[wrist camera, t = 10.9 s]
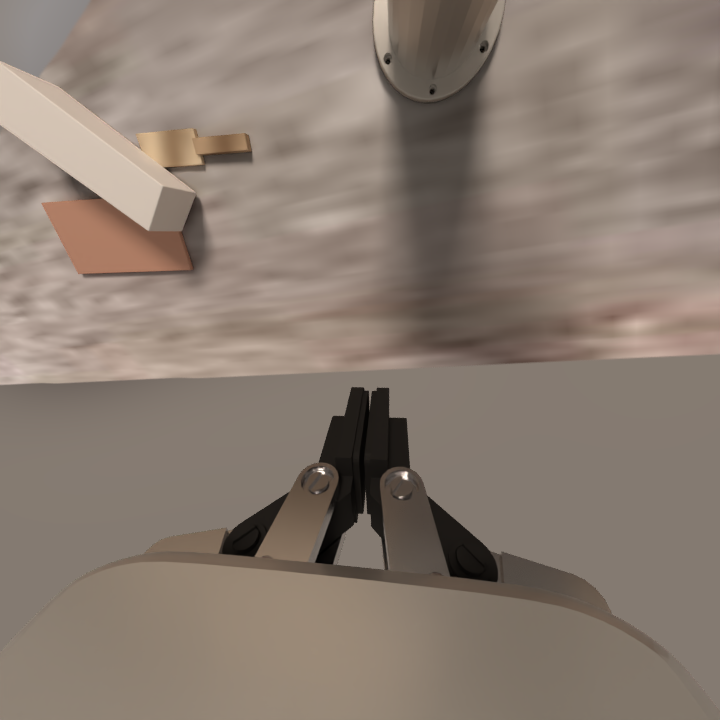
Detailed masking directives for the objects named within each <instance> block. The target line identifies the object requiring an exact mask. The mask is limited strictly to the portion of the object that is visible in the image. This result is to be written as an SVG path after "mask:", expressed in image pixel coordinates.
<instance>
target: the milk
mask: <svg viewBox="0 0 720 720" xmlns="http://www.w3.org/2000/svg"><path fill="white" fill-rule="evenodd" d="M0 125H1V126H2V127H4V128H5V129H6V130H8V131H9V132H11V133H12V134H13V135H15V136H16V137H18V138H19V139H20V140H22V141H23V142H25V143H26V144H27V145H29V146H30V147H32V148H33V149H34V150H36V151H37V152H39V153H40V154H41V155H43V156H44V157H46V158H47V159H48V160H50V161H51V162H53V163H54V164H55V165H57V166H58V167H59V168H61V169H62V170H64V171H65V172H66V173H68V174H69V175H71V176H72V177H73V178H75V179H76V180H78V181H79V182H80V183H82V184H83V185H85V186H86V187H87V188H89V189H90V190H92V191H93V192H94V193H96V194H97V195H99V196H100V197H101V198H103V199H104V200H106V201H107V202H108V203H110V204H111V205H113V206H114V207H115V208H117V209H118V210H120V211H121V212H122V213H124V214H125V215H127V216H128V217H129V218H131V219H132V220H133V221H135V222H136V223H138V224H139V225H140V226H142V227H143V228H145V229H146V230H148V231H182V230H183V227H184V225H185V222H186V219H187V217H188V214H189V211H190V209H191V206H192V203H193V201H194V198H195V196H196V192H195V191H193V190H192V189H191V188H189V187H188V186H187V185H186V184H184V183H183V182H182V181H180V180H179V179H178V178H176V177H175V176H174V175H173V174H171V173H170V172H169V171H167V170H166V169H165V168H163V167H162V166H161V165H160V164H158V163H157V162H156V161H154V160H153V159H152V158H150V157H149V156H148V155H147V154H145V153H144V152H143V151H141V150H140V149H139V148H138V147H136V146H135V145H134V144H132V143H131V142H130V141H128V140H127V139H126V138H125V137H123V136H122V135H121V134H119V133H118V132H117V131H115V130H114V129H113V128H112V127H110V126H109V125H108V124H106V123H105V122H104V121H102V120H101V119H100V118H99V117H97V116H96V115H95V114H93V113H92V112H91V111H89V110H88V109H87V108H86V107H84V106H83V105H82V104H80V103H79V102H78V101H76V100H75V99H74V98H73V97H71V96H70V95H69V94H67V93H66V92H65V91H63V90H62V89H61V88H60V87H58V86H56V85H54V84H51V83H49V82H47V81H44V80H42V79H40V78H38V77H35V76H33V75H31V74H28V73H26V72H24V71H22V70H19V69H17V68H15V67H12V66H10V65H8V64H6V63H3V62H1V61H0Z"/></svg>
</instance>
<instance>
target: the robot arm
mask: <svg viewBox="0 0 720 720" xmlns="http://www.w3.org/2000/svg"><path fill="white" fill-rule="evenodd" d="M505 3H506V0H374V3H373V20H372V24H373V37H374V43H375V50H376V54H377V57H378V60H379V64H380V66H381V68H382V70H383V72H384V74H385V76H386V78H387V80H388V81H389V82H390V84H391V85H392V86H393V87H394V88H395V89H396V90H397V91H398V92H399V93H400V94H402V95H403V96H405V97H407V98H409V99H411V100H413V101H418V102H422V103H427V102H436V101H440V100H443V99H446V98H448V97H450V96H452V95H454V94H455V93H457V92H458V91H459V90H461V89H462V88H463V87H464V86H466V85H467V84H468V83H469V82H470V81H471V79H472V78H473V77H474V76H475V75H476V74H477V73H478V71H479V70H480V68H481V67H482V65H483V64H484V62H485V60H486V59H487V57H488V55H489V54H490V52H491V50H492V48H493V45H494V43H495V40H496V38H497V35H498V33H499V30H500V26H501V23H502V19H503V15H504V10H505ZM481 48H483V49H484V53H481V52H480V49H481ZM387 60H390V64H388V65H387V64H386V61H387ZM430 90H433V91H434V94H433V95H431V94H430ZM365 492H366V498H367V499H366V500H367V514H371V526H372V528H373V529H374V530H375V531H376V532H377V534H378V535H379V536H380V537H381V546H382V556H383V566H384V570H381V569H371V568H360V567H351V566H341V565H337V564H338V560H339V557H340V553H341V550H342V546H343V543H344V540H345V534H346V531H347V530H348V529H349V528H351V527H352V526H353V525H354V522H355V523H357V519H358V513H360V514H363V511H364V502H365V501H364V500H365ZM0 720H720V710H719V709H718V708H717V707H716V705H715V704H714V703H713V701H712V700H711V699H710V697H709V696H708V695H707V693H706V692H705V691H704V690H703V689H702V687H701V686H700V685H699V684H698V683H697V681H696V680H695V679H694V678H693V677H692V675H691V674H690V673H689V672H688V671H687V670H686V669H685V667H684V666H683V665H682V664H681V663H680V662H679V661H678V660H676V658H675V657H674V656H673V655H672V654H671V653H669V652H668V651H667V650H666V649H665V648H664V647H663V646H661V645H660V644H659V643H657V642H656V641H654V640H653V639H652V638H651V637H649V636H648V635H646V634H645V633H643V632H642V631H640V630H639V629H637V628H635V627H634V626H632V625H631V624H629V623H627V622H626V621H624V620H622V619H620V618H618V617H616V616H614V615H613V614H612V613H611V610H610V609H609V607H608V605H607V603H606V601H605V599H604V598H603V597H602V595H601V594H600V593H599V592H598V591H597V590H596V588H594V587H593V586H592V585H591V584H589V583H588V582H587V581H586V580H584V579H582V578H580V577H578V576H576V575H573V574H571V573H567V572H564V571H561V570H558V569H555V568H552V567H548V566H545V565H542V564H539V563H536V562H533V561H530V560H527V559H523V558H520V557H517V556H514V555H510V554H508V553H504V552H501V555H500V554H497V553H494V552H490V551H489V550H488V549H487V547H486V546H485V545H484V544H483V543H482V542H480V541H479V540H478V539H477V538H476V537H475V536H473V535H472V534H471V533H470V532H469V531H468V530H467V529H465V528H464V527H463V526H462V525H461V524H460V523H458V522H457V521H456V520H455V519H454V518H453V517H451V516H450V515H449V514H448V513H447V512H446V511H444V510H443V509H442V508H441V507H440V506H439V505H438V504H436V503H435V502H434V501H433V500H432V499H431V498H430V497H428V496H427V494H426V490H425V487H424V484H423V481H422V479H421V477H420V476H419V475H418V474H417V473H416V472H415V471H413V470H411V469H410V462H409V448H408V433H407V419H406V418H389V388H377V391H372V396H371V404H370V411H369V391H364V388H361V387H359V388H357V387H352V388H351V392H350V396H349V400H348V405H347V408H346V413H345V416H333V417H332V420H331V423H330V427H329V430H328V433H327V437H326V440H325V443H324V447H323V450H322V453H321V457H320V460H319V463H314V464H311V465H309V466H307V467H306V468H305V469H303V470H302V471H301V473H300V474H299V476H298V477H297V479H296V481H295V483H294V485H293V487H292V488H291V490H290V492H289V493H287V494H285V495H284V496H282V497H281V498H279V499H278V500H276V501H274V502H273V503H271V504H270V505H268V506H267V507H265V508H264V509H262V510H260V511H259V512H257V513H256V514H254V515H253V516H251V517H250V518H248V519H246V520H245V521H243V522H242V523H240V524H239V525H238V526H237V527H235V528H234V529H233V530H227V528H221V529H215V530H208V531H202V532H197V533H190V534H183V535H177V536H171V537H167V538H164V539H161V540H160V541H158V542H157V543H155V544H154V545H152V546H151V547H150V548H149V549H148V550H147V551H146V552H145V553H144V554H140V555H135V556H132V557H128V558H124V559H121V560H117V561H115V562H111V563H108V564H106V565H103V566H101V567H98V568H96V569H94V570H92V571H90V572H88V573H86V574H84V575H83V576H81V577H79V578H78V579H76V580H74V581H73V582H72V583H70V584H69V585H68V586H67V587H65V588H64V589H63V590H61V592H59V593H58V594H57V595H56V596H55V597H54V598H52V599H51V600H50V601H49V602H48V603H47V604H46V605H45V606H44V607H43V608H42V609H41V610H40V611H39V612H38V613H37V614H36V615H35V616H34V617H33V618H32V619H31V620H30V621H29V622H28V623H27V624H26V625H25V626H24V627H23V628H22V629H21V631H19V632H18V633H17V634H16V635H15V637H14V638H13V639H12V640H11V641H10V642H9V643H8V644H7V645H6V646H5V647H4V648H3V649H2V650H1V652H0Z"/></svg>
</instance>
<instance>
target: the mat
mask: <svg viewBox="0 0 720 720" xmlns="http://www.w3.org/2000/svg"><path fill="white" fill-rule="evenodd" d="M42 205H43V207H44V209H45V211H46V213H47V215H48V217H49V219H50V221H51V222H52V224H53V226H54V228H55V230H56V232H57V234H58V236H59V238H60V240H61V242H62V243H63V245H64V247H65V249H66V251H67V253H68V255H69V257H70V259H71V261H72V263H73V264H74V266H75V268H76V270H77V272H78V274H88V273H116V272H145V271H174V270H192V269H193V266H192V263H191V260H190V257H189V254H188V251H187V248H186V245H185V241H184V238H183V235H182V232H181V231H148V230H146V229H145V228H143V227H142V226H140V225H139V224H138V223H136V222H135V221H133V220H132V219H131V218H129V217H128V216H127V215H125V214H124V213H122V212H121V211H120V210H118V209H117V208H115V207H114V206H113V205H111V204H110V203H108V202H107V201H106V200H104V199H89V200H75V201H61V202H47V203H42Z"/></svg>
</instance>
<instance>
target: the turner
mask: <svg viewBox="0 0 720 720" xmlns="http://www.w3.org/2000/svg"><path fill="white" fill-rule="evenodd" d="M136 136H137V139H138V142H139V145H140V148H141V151H143V152H144V153H145V154H147V155H148V156H149V157H150V158H152V159H153V160H154V161H156V162H157V163H158V164H160V165H161V166H162V167H163V168H170V167H184V166H198V165H205V162H204V158H203V155H216V154H229V153H241V152H252V151H251V145H250V140H249V135H247V134H245V133H242V134H232V135H221V136H210V137H200V138H198V134H197V131H196V129H193V128H191V129H181V130H171V131H161V132H150V133H140V134H136Z"/></svg>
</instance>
